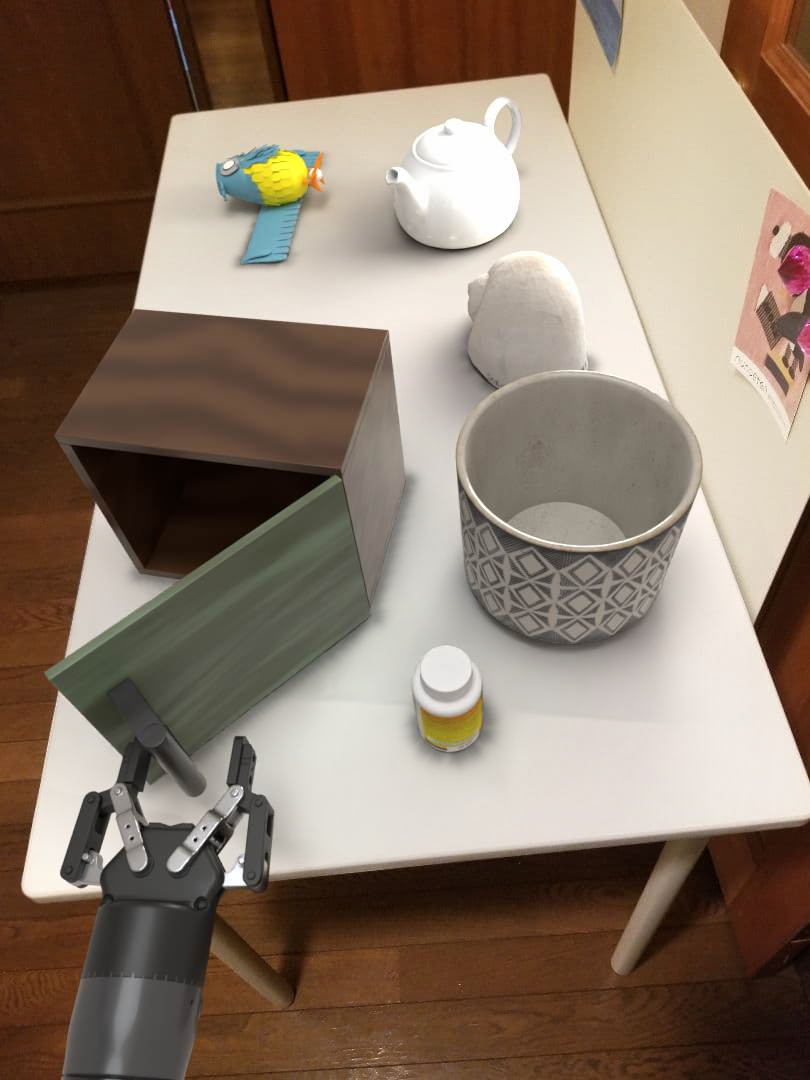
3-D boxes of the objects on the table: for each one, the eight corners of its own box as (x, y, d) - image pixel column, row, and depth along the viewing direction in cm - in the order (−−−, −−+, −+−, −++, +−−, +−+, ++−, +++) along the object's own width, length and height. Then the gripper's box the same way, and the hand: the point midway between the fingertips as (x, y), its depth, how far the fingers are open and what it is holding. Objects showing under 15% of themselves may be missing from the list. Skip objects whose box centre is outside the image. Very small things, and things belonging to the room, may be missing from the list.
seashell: (539, 353, 105) (478, 255, 99) (631, 325, 95) (570, 213, 88) (486, 427, 98) (417, 326, 91) (580, 404, 87) (510, 288, 81)
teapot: (530, 252, 107) (536, 152, 96) (392, 261, 108) (382, 163, 97) (519, 176, 118) (523, 78, 107) (394, 185, 119) (385, 89, 108)
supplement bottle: (494, 736, 68) (496, 682, 60) (435, 765, 67) (429, 714, 58) (463, 682, 71) (461, 624, 63) (406, 709, 70) (396, 653, 62)
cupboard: (370, 608, 76) (340, 469, 60) (139, 573, 81) (53, 435, 65) (406, 480, 85) (388, 329, 69) (196, 455, 90) (134, 308, 74)
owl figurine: (297, 204, 102) (184, 207, 104) (311, 263, 109) (204, 265, 111) (333, 96, 118) (235, 101, 120) (343, 153, 125) (249, 157, 127)
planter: (688, 525, 79) (729, 404, 66) (628, 689, 69) (663, 586, 56) (505, 469, 85) (509, 347, 72) (427, 612, 75) (415, 502, 62)
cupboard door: (412, 657, 73) (393, 525, 57) (186, 839, 65) (91, 745, 49) (365, 610, 76) (335, 473, 60) (145, 778, 68) (43, 672, 52)
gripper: (239, 987, 47) (278, 718, 56) (3, 978, 48) (80, 717, 58) (267, 1003, 53) (297, 758, 62) (56, 995, 54) (118, 756, 64)
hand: (193, 739), depth 60 cm, fingers open, 7 cm apart
